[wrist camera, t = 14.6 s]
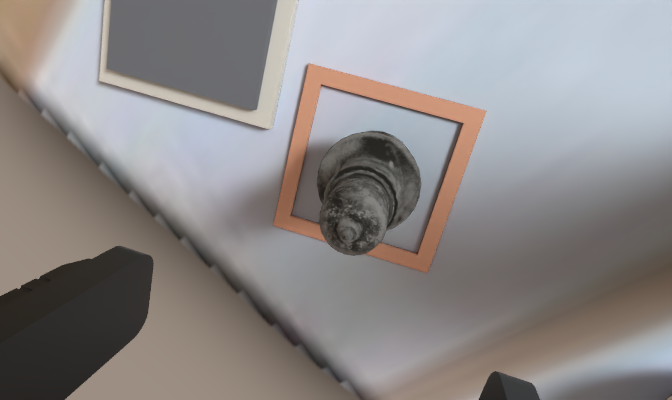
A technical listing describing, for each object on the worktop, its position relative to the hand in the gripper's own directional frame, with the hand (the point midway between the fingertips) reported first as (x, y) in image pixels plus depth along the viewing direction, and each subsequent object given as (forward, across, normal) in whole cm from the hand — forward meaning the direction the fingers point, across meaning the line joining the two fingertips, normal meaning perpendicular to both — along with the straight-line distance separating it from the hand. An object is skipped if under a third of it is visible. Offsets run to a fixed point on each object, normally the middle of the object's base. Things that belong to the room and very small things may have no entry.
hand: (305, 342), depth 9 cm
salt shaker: (+18, 0, 0) cm, 18 cm away
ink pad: (+18, +13, -7) cm, 23 cm away
